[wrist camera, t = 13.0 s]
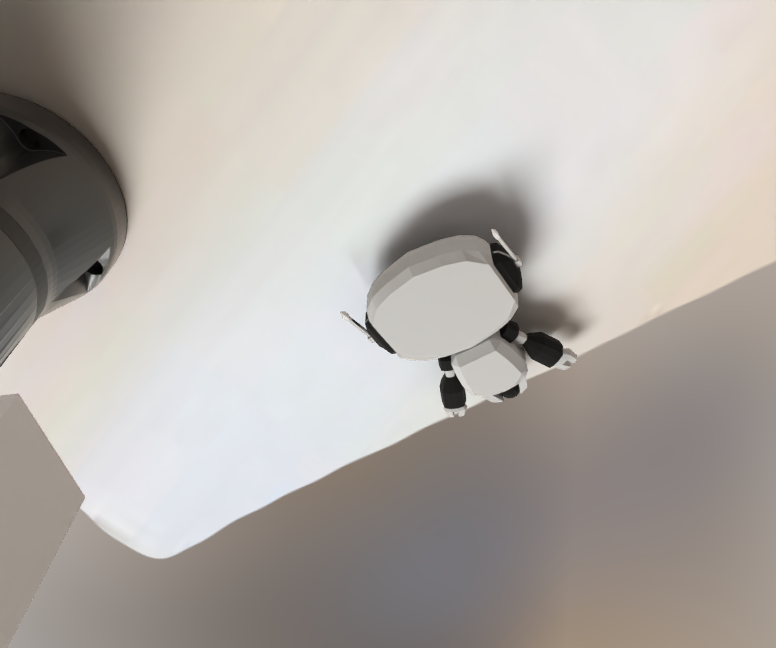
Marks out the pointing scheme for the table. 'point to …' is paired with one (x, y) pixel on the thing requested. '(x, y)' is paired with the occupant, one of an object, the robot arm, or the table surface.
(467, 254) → the robot toy
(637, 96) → the table surface
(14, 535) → the robot arm
